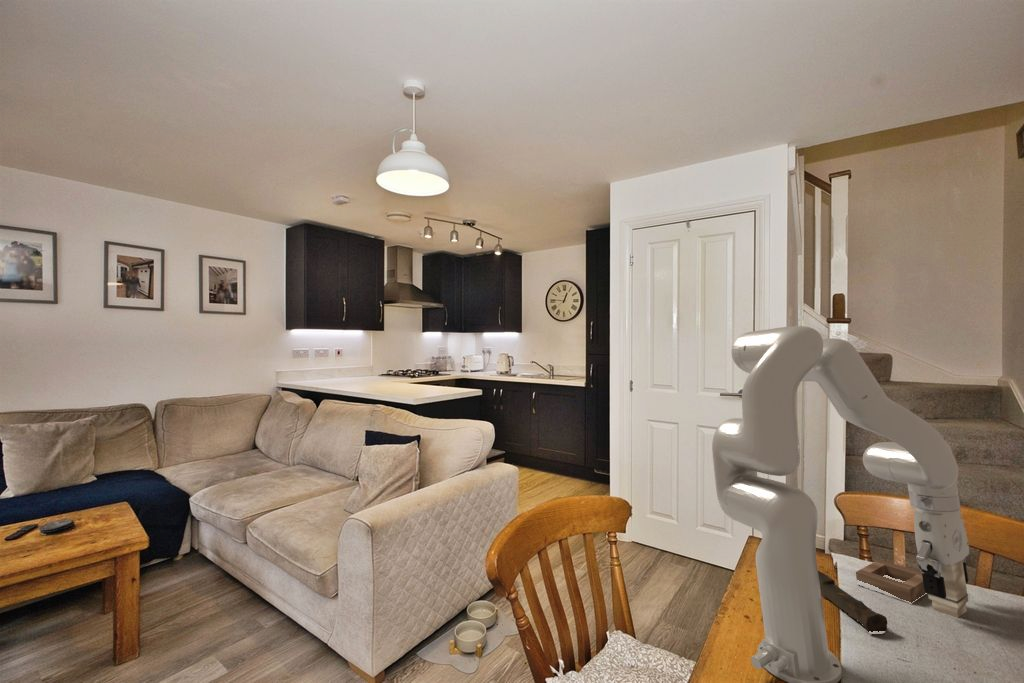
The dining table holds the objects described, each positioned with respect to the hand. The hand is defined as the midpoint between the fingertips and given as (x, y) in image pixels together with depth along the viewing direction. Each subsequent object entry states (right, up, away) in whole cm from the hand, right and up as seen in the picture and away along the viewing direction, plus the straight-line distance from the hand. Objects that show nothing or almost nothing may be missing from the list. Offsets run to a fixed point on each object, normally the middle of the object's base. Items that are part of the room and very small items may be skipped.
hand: (946, 587), depth 91 cm
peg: (0, -4, 0) cm, 4 cm away
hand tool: (-18, -7, +4) cm, 20 cm away
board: (-2, -5, +10) cm, 11 cm away
